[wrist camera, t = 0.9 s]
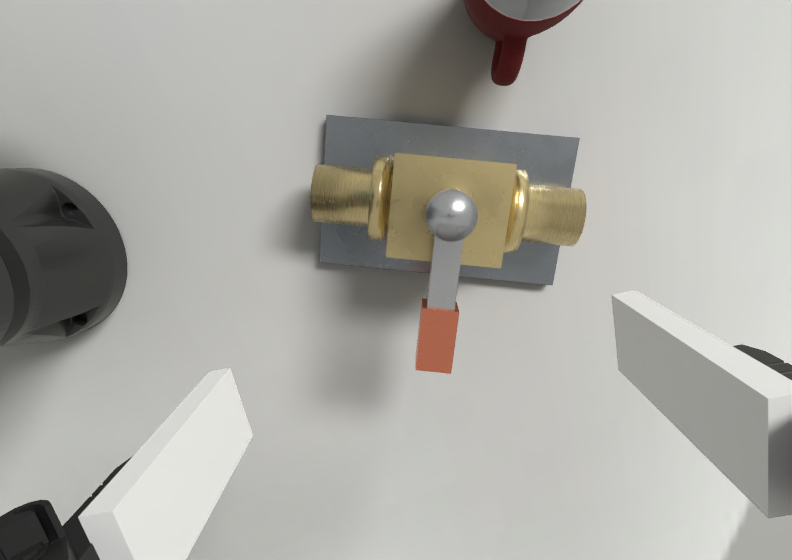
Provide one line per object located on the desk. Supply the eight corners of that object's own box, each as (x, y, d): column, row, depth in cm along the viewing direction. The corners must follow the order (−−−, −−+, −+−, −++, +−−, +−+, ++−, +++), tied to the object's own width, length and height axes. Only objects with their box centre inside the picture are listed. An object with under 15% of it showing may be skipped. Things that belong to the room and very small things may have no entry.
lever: (428, 185, 30) (429, 187, 28) (476, 190, 30) (481, 192, 28) (410, 353, 33) (409, 369, 31) (453, 358, 33) (456, 374, 31)
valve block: (321, 259, 40) (298, 283, 32) (328, 116, 37) (305, 103, 29) (549, 282, 40) (581, 311, 32) (575, 138, 37) (617, 132, 29)
